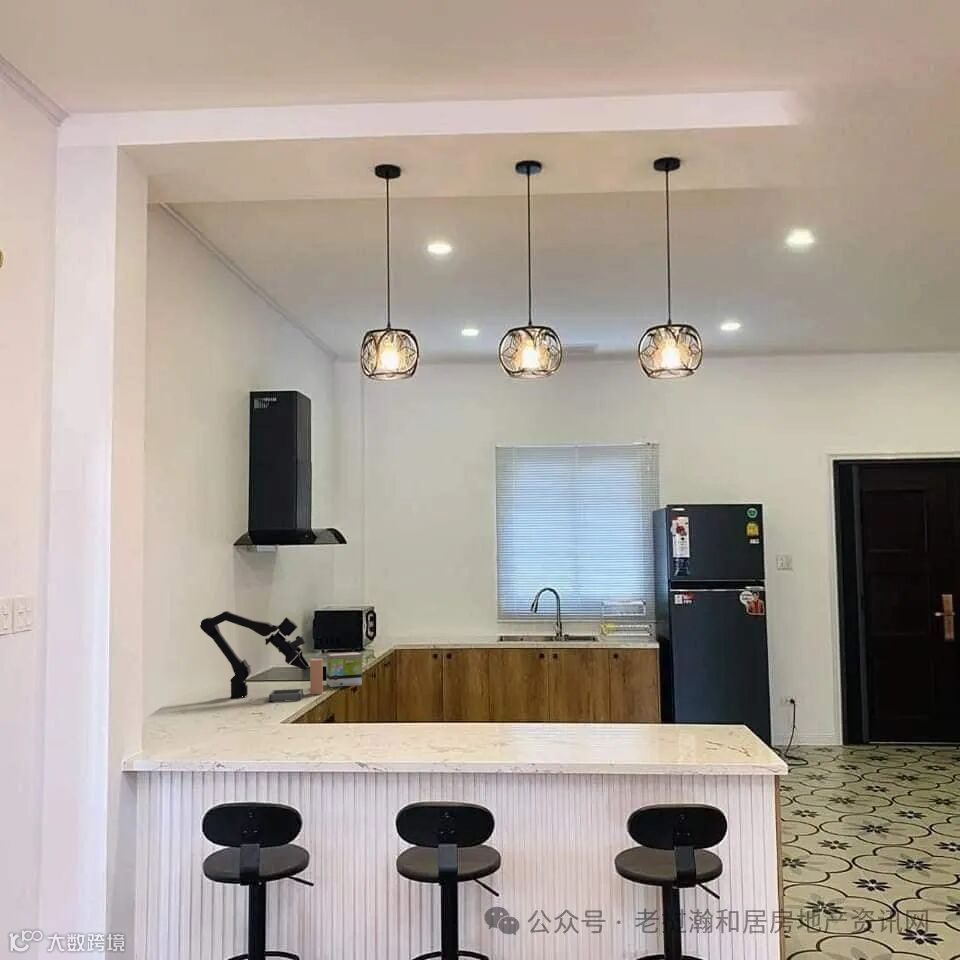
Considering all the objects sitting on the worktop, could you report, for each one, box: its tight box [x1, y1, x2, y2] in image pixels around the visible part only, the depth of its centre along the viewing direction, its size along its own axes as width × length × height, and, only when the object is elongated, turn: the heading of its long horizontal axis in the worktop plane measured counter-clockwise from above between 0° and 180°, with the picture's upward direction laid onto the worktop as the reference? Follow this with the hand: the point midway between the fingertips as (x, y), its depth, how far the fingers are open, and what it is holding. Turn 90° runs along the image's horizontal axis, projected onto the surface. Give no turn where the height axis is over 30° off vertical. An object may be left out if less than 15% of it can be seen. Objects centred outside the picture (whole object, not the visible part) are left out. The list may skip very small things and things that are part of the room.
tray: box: [268, 688, 304, 702], centre depth 380 cm, size 13×13×3 cm
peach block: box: [309, 657, 324, 695], centre depth 393 cm, size 5×6×15 cm
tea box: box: [325, 651, 363, 688], centre depth 416 cm, size 15×10×15 cm
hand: (307, 667), depth 393 cm, fingers open, 9 cm apart
